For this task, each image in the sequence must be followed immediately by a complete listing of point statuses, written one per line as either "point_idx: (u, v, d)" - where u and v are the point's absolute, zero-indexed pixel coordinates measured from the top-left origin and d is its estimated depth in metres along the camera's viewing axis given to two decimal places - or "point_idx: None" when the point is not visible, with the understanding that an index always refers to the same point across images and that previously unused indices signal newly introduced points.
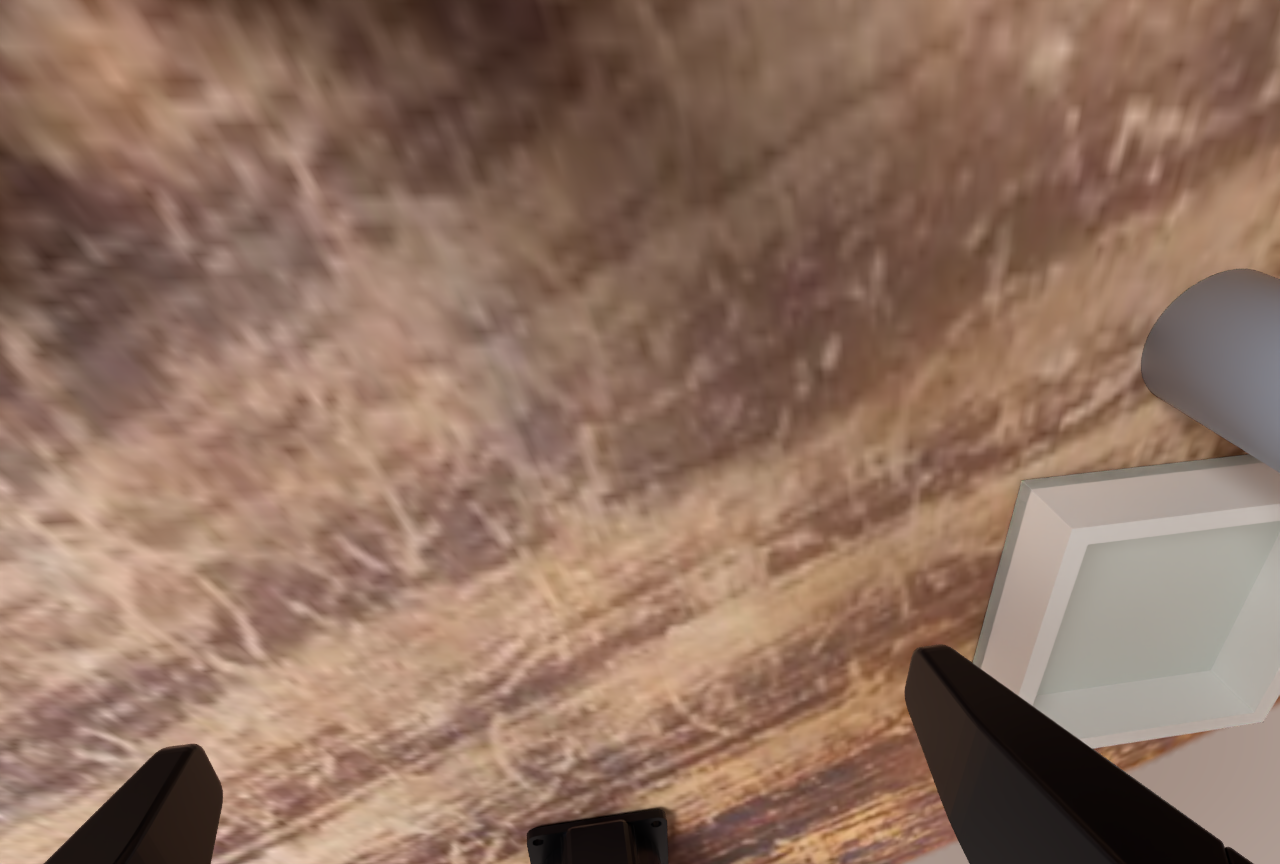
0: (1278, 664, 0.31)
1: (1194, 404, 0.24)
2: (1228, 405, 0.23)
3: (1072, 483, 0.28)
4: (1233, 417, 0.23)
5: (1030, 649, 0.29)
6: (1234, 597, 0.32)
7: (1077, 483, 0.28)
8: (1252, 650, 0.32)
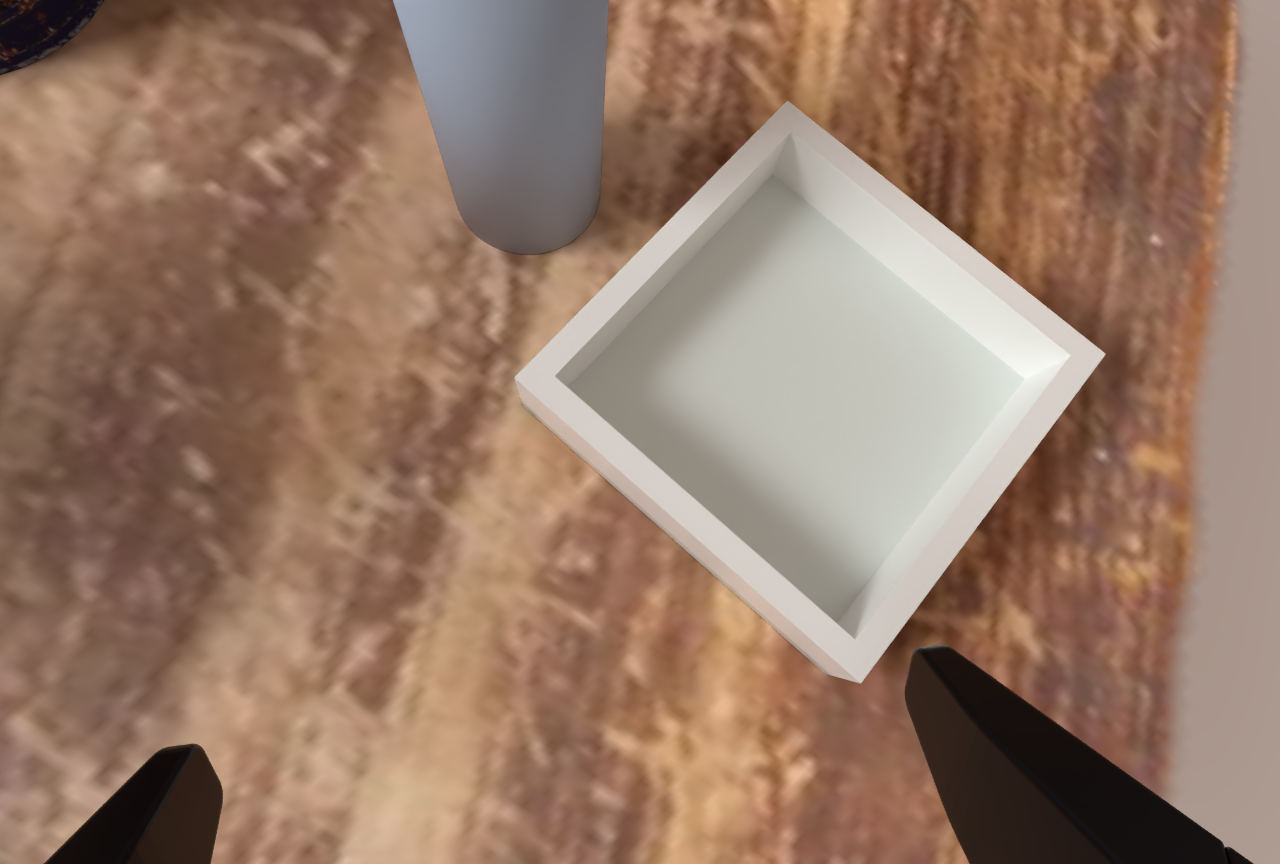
0: (993, 295, 0.23)
1: (497, 214, 0.23)
2: (471, 182, 0.22)
3: None
4: (478, 182, 0.21)
5: (671, 517, 0.21)
6: (905, 303, 0.25)
7: None
8: (983, 316, 0.24)
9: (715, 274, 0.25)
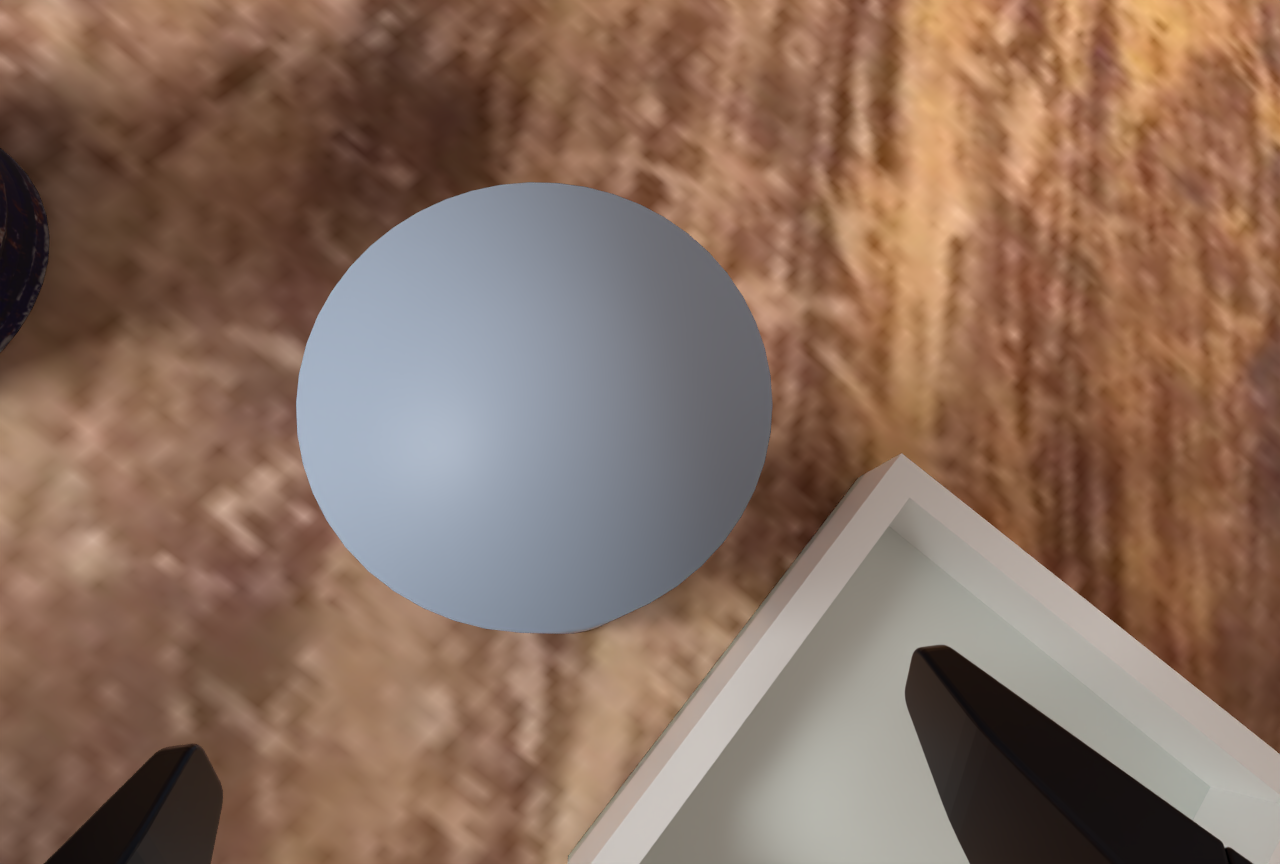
0: (1186, 721, 0.17)
1: None
2: None
3: (613, 802, 0.18)
4: None
5: None
6: (1050, 686, 0.20)
7: (618, 796, 0.18)
8: (1163, 726, 0.19)
9: (809, 659, 0.19)
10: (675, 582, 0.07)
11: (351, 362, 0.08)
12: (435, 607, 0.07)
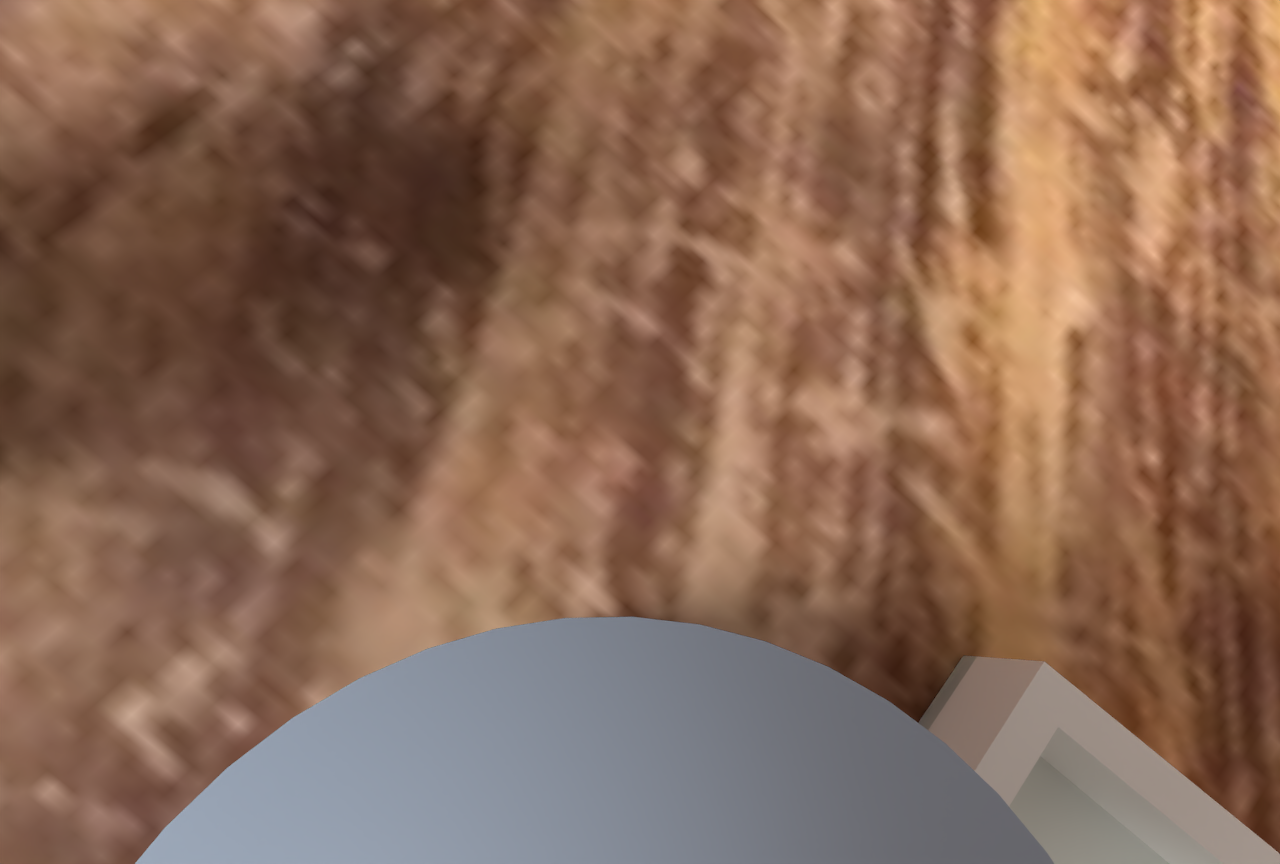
0: None
1: None
2: None
3: None
4: None
5: None
6: None
7: None
8: None
9: None
10: None
11: None
12: None
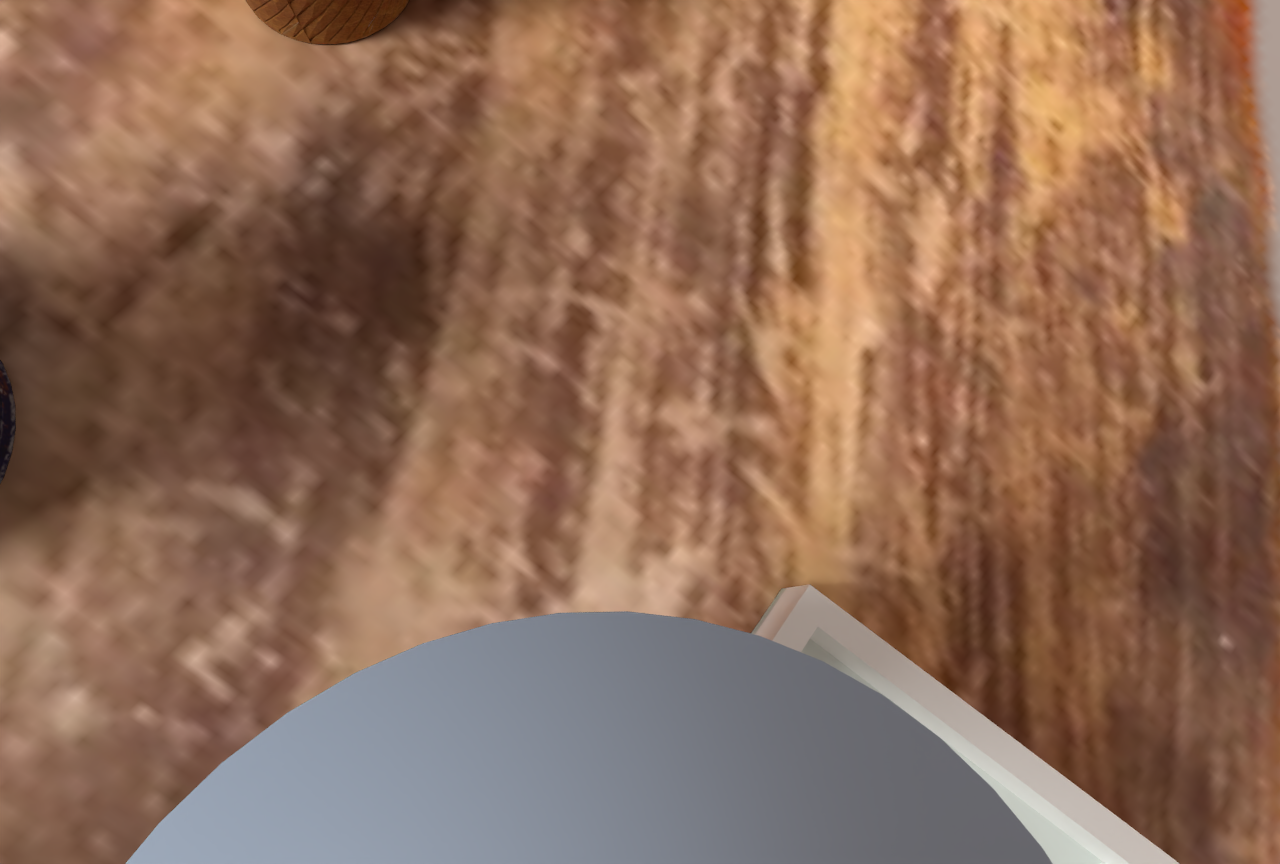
0: (1068, 817, 0.20)
1: None
2: None
3: None
4: None
5: None
6: None
7: None
8: (1053, 815, 0.21)
9: None
10: None
11: None
12: None
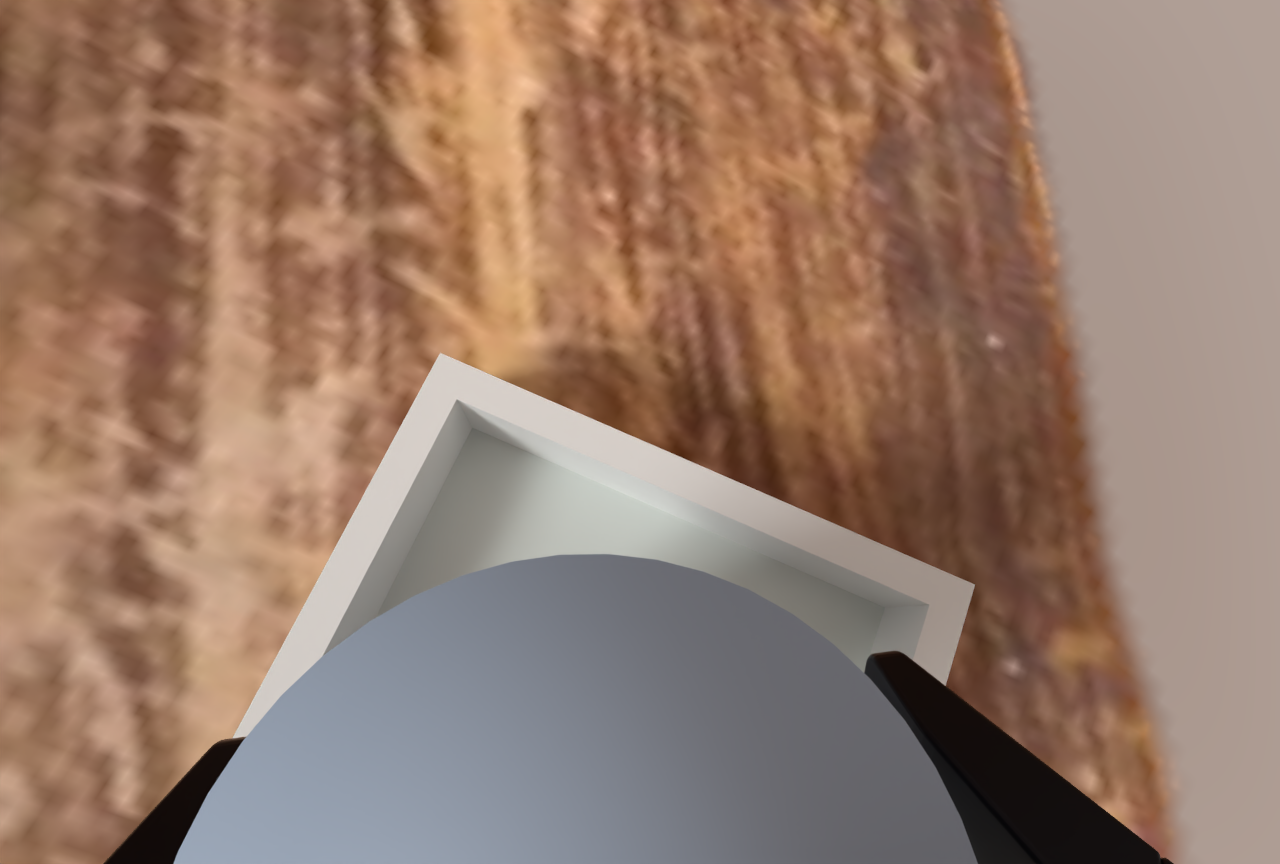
0: (802, 550, 0.16)
1: None
2: None
3: None
4: None
5: None
6: (699, 555, 0.18)
7: None
8: (803, 561, 0.17)
9: None
10: None
11: None
12: None
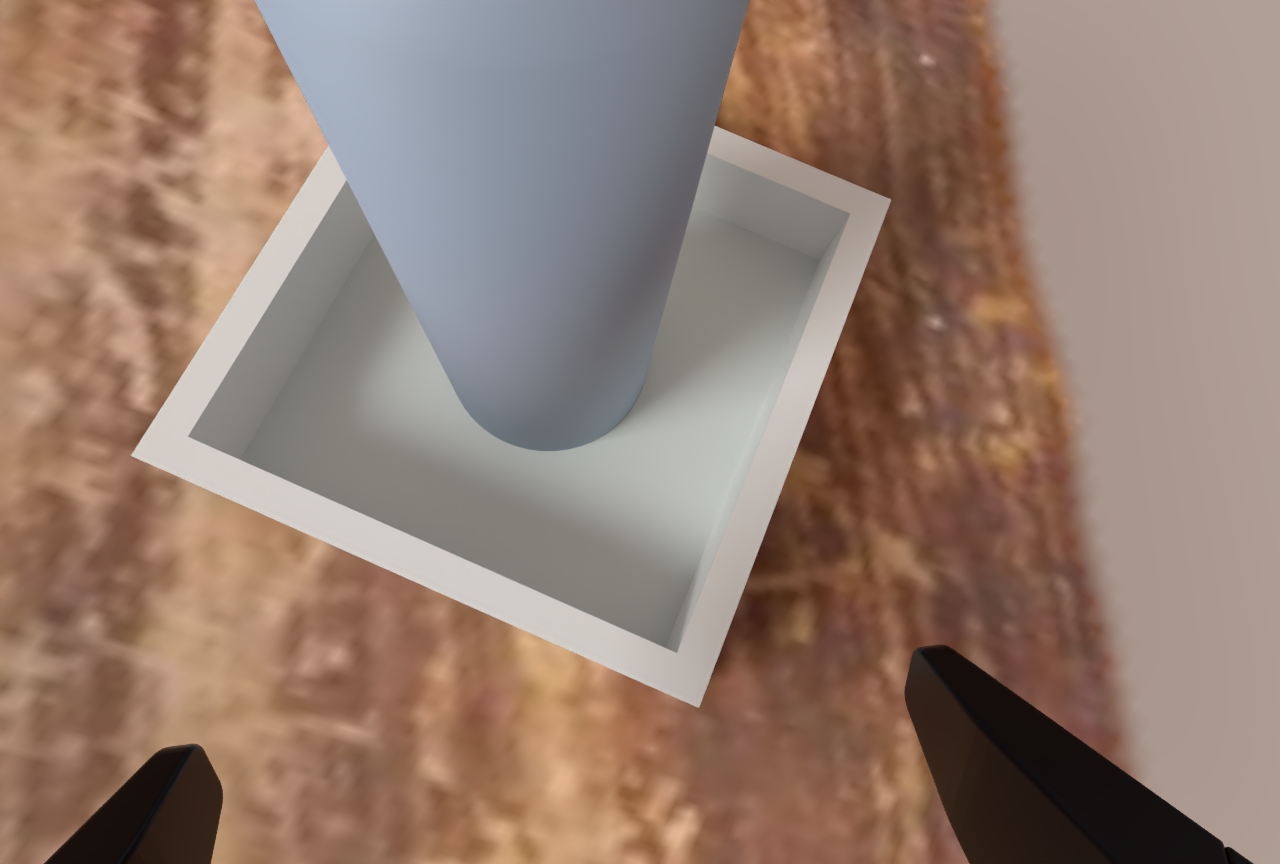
0: (739, 168, 0.18)
1: (512, 421, 0.16)
2: (475, 390, 0.15)
3: None
4: (487, 393, 0.14)
5: (396, 573, 0.15)
6: None
7: None
8: (742, 200, 0.19)
9: None
10: (663, 27, 0.06)
11: None
12: (360, 30, 0.06)
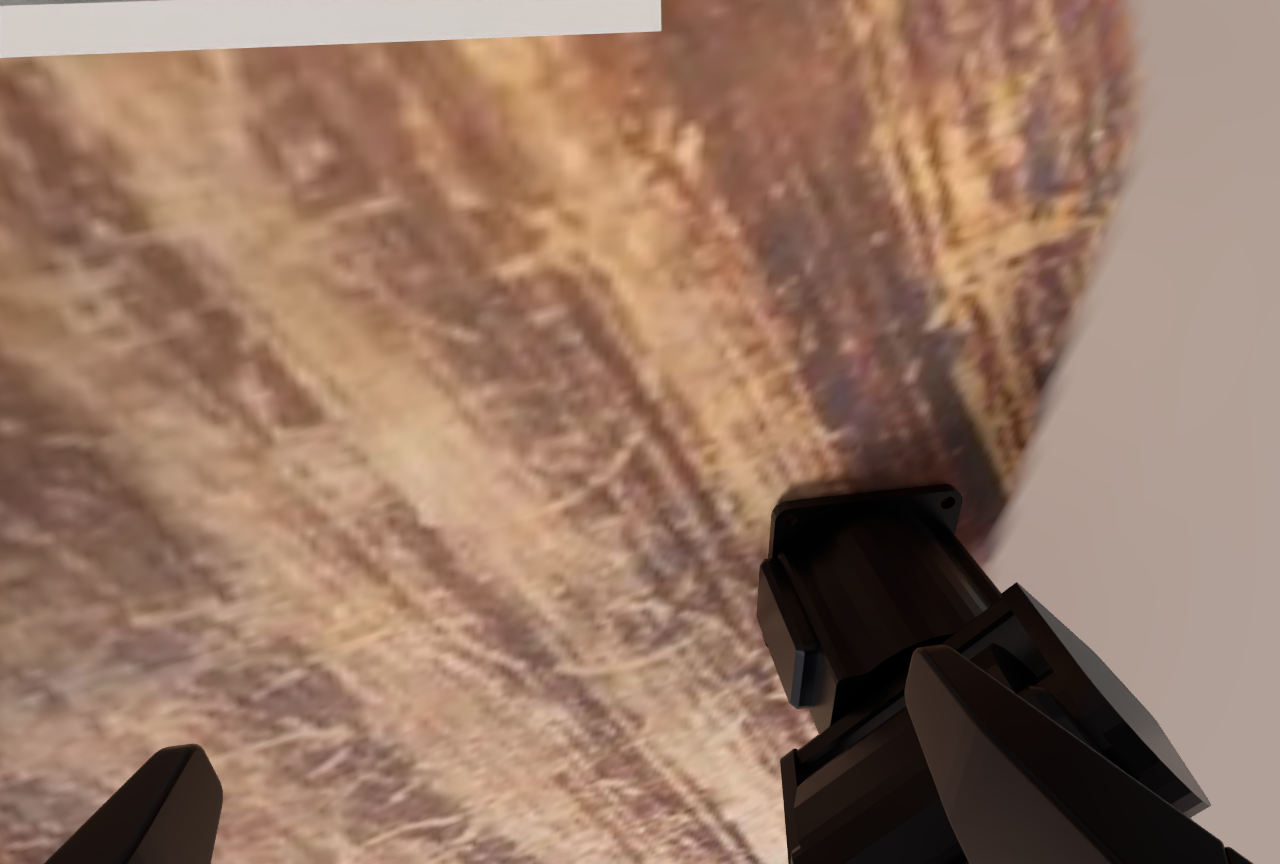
0: None
1: None
2: None
3: None
4: None
5: (311, 44, 0.14)
6: None
7: None
8: None
9: None
10: None
11: None
12: None
